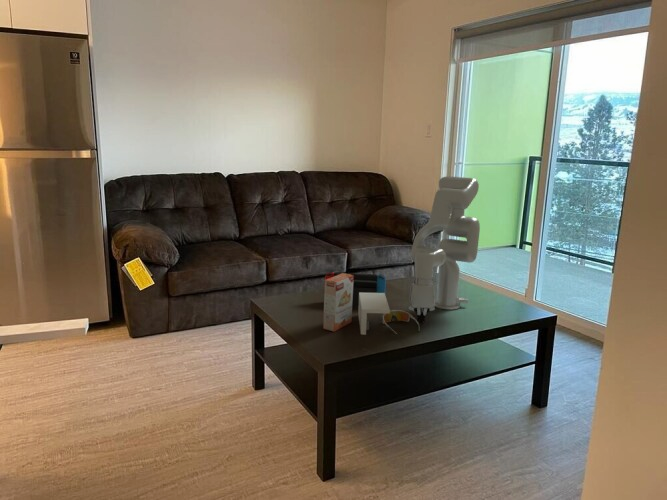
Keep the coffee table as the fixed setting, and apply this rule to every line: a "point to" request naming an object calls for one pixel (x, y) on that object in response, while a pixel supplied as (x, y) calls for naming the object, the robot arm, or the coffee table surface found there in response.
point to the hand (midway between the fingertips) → (420, 323)
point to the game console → (364, 284)
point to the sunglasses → (397, 317)
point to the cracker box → (338, 301)
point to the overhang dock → (371, 308)
